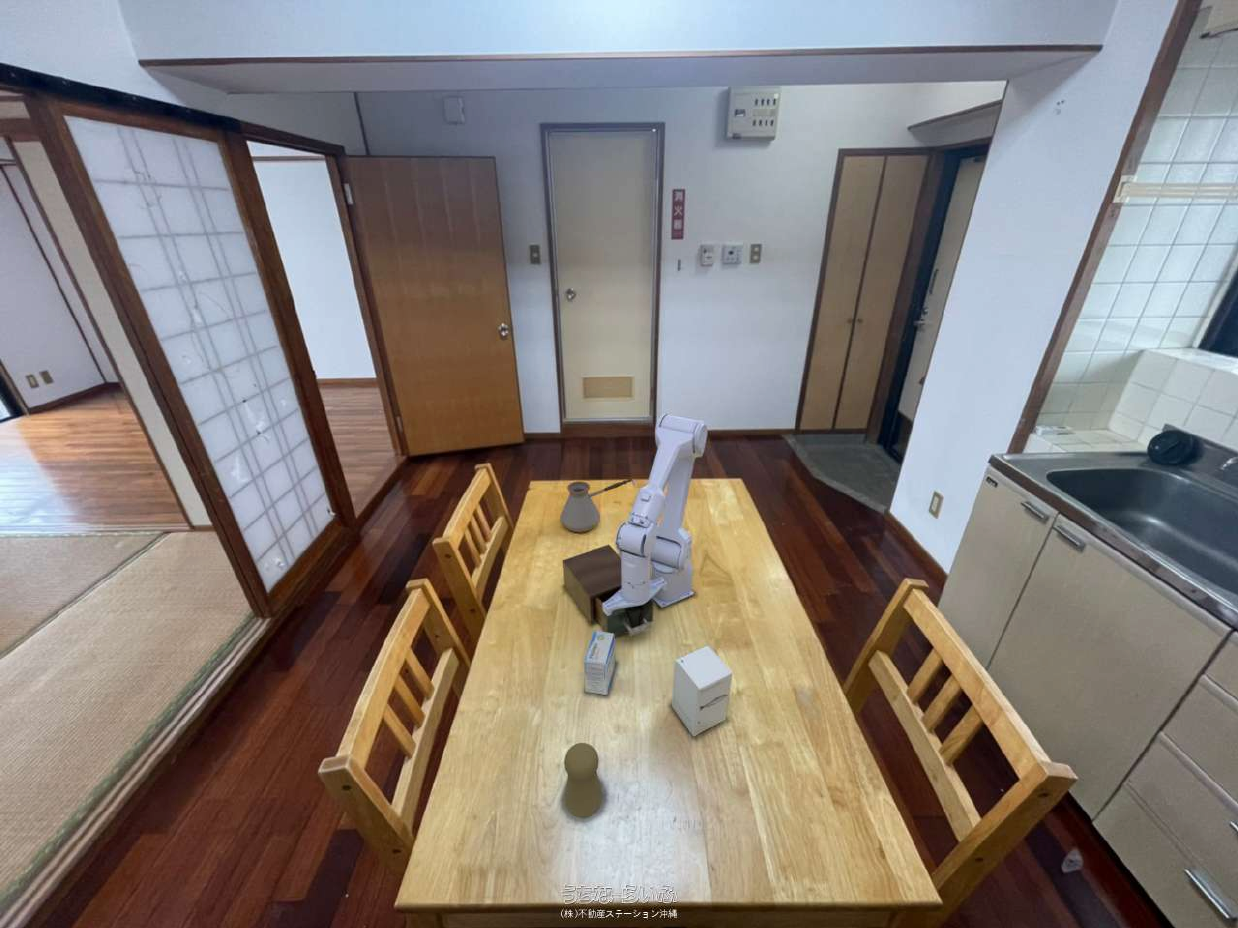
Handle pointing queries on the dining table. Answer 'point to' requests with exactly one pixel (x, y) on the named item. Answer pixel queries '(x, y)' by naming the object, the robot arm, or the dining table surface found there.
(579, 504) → the coffee pot
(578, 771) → the brown pawn figure
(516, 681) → the dining table surface
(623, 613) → the drawer
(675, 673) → the white packaging box
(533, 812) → the dining table surface
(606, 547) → the cabinet
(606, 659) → the medicine box
